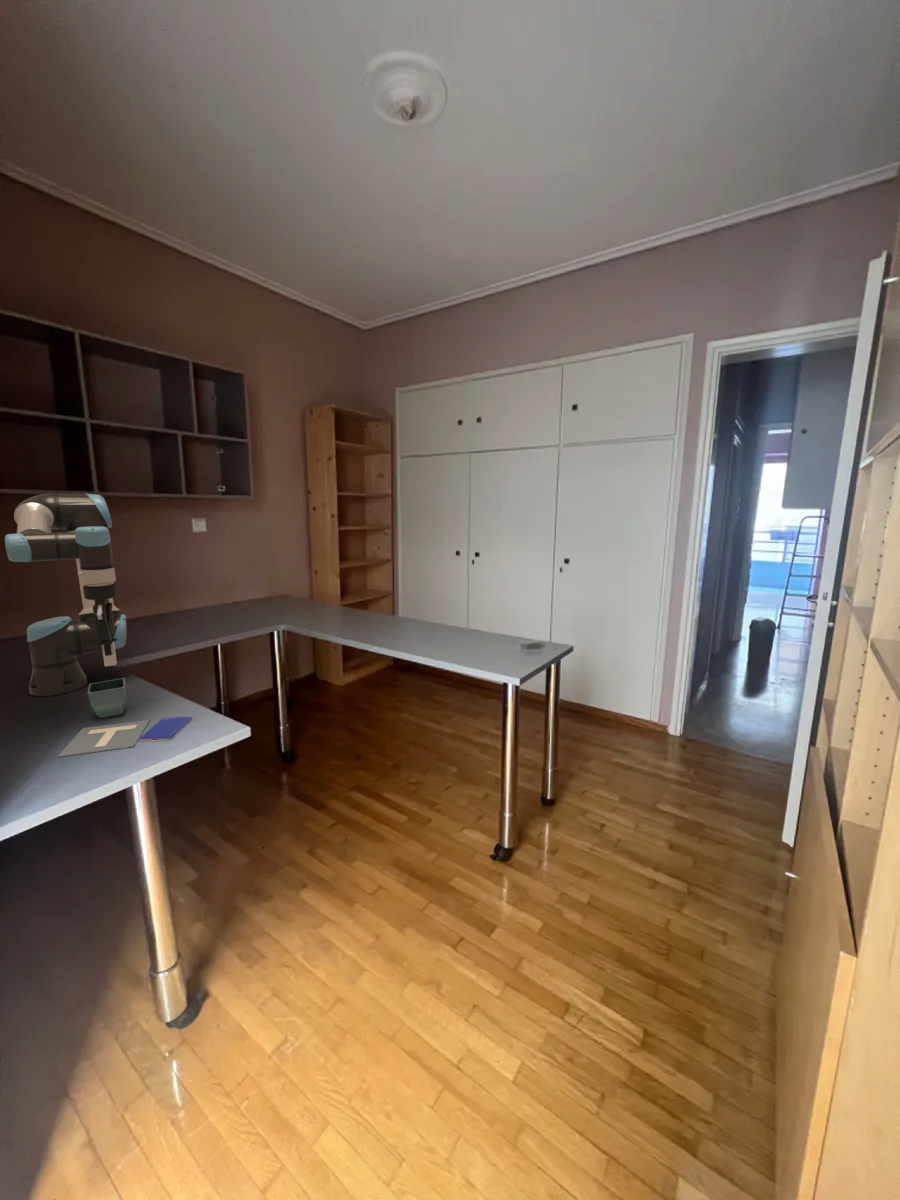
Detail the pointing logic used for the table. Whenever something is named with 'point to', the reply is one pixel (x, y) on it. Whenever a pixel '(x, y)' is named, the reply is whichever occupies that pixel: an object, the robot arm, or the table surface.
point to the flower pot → (107, 697)
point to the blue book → (166, 728)
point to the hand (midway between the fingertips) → (110, 664)
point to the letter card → (105, 738)
